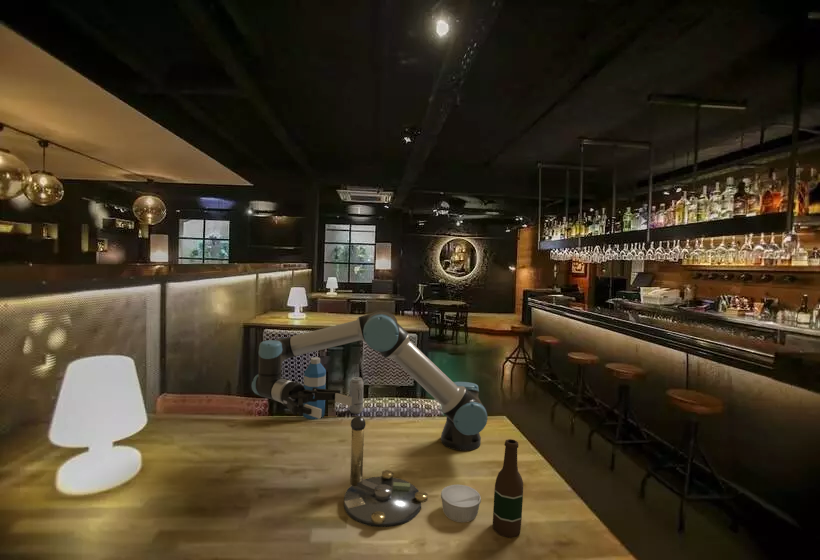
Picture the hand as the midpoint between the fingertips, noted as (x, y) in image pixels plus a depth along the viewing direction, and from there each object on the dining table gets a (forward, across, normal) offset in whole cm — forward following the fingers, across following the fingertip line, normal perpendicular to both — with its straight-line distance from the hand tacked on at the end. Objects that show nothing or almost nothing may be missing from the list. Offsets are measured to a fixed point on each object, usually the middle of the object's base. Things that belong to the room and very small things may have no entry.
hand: (336, 407), depth 135 cm
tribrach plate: (+19, 0, -24) cm, 30 cm away
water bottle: (-44, -35, -24) cm, 62 cm away
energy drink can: (-33, -50, -24) cm, 64 cm away
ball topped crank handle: (+14, 0, -22) cm, 26 cm away
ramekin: (+39, -9, -24) cm, 47 cm away
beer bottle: (+52, -10, -24) cm, 58 cm away
